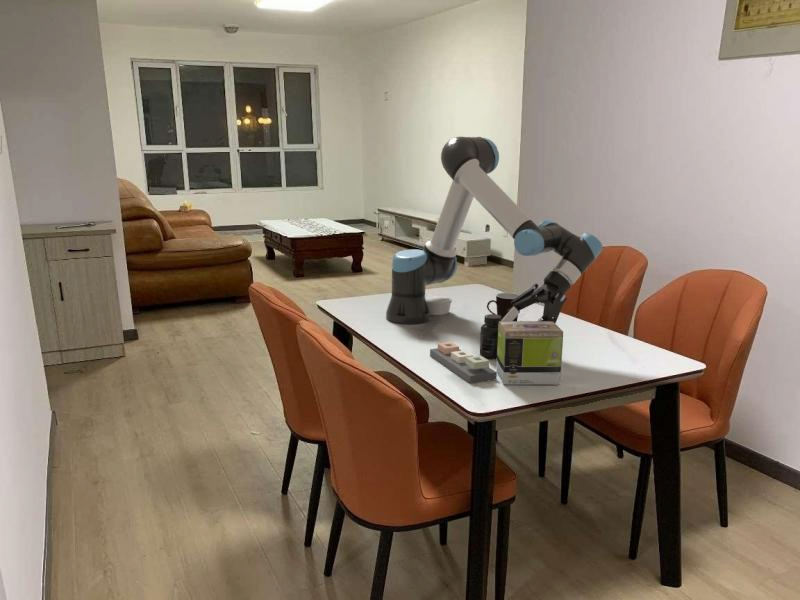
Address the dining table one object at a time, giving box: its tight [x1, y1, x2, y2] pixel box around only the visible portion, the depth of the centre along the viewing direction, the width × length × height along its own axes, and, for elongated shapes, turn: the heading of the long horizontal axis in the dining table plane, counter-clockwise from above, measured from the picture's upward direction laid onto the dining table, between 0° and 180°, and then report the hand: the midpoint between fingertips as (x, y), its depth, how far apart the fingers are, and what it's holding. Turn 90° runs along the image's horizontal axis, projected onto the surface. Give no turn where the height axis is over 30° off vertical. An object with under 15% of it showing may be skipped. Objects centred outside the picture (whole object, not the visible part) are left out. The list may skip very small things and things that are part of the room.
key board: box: [429, 347, 498, 384], centre depth 175 cm, size 23×8×2 cm, turn 24°
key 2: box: [465, 354, 490, 369], centre depth 167 cm, size 4×4×2 cm
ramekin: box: [425, 294, 453, 316], centre depth 230 cm, size 11×11×5 cm
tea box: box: [496, 320, 564, 386], centre depth 166 cm, size 15×10×15 cm, turn 92°
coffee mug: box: [486, 292, 520, 321], centre depth 217 cm, size 12×9×10 cm
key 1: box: [437, 341, 460, 354], centre depth 181 cm, size 4×4×2 cm
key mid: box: [451, 350, 474, 363], centre depth 174 cm, size 4×4×2 cm
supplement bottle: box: [479, 313, 501, 360], centre depth 183 cm, size 7×7×12 cm
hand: (514, 331), depth 185 cm, fingers open, 13 cm apart
